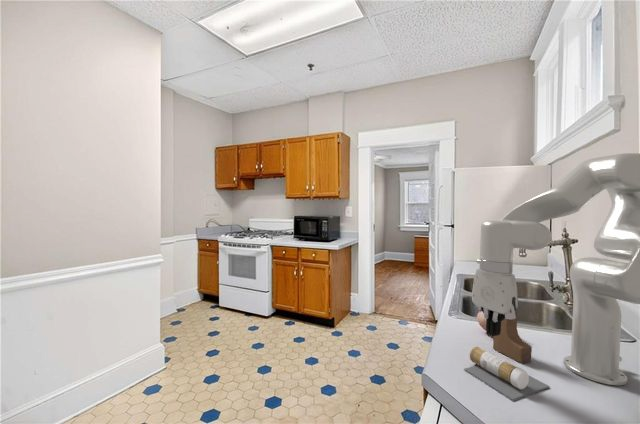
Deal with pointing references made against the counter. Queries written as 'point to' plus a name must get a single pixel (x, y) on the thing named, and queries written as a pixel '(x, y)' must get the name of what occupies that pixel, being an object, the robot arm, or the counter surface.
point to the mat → (506, 383)
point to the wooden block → (512, 342)
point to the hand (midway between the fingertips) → (493, 334)
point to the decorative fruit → (481, 319)
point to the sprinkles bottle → (500, 368)
